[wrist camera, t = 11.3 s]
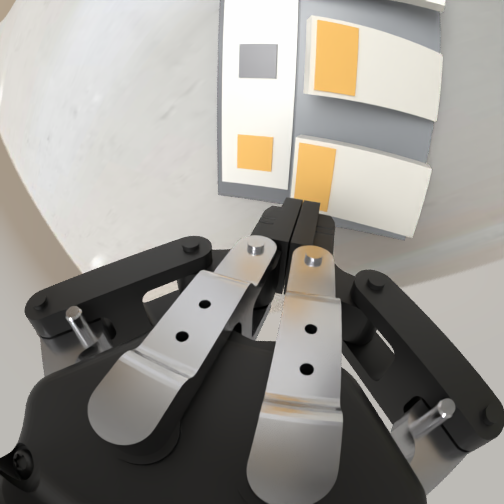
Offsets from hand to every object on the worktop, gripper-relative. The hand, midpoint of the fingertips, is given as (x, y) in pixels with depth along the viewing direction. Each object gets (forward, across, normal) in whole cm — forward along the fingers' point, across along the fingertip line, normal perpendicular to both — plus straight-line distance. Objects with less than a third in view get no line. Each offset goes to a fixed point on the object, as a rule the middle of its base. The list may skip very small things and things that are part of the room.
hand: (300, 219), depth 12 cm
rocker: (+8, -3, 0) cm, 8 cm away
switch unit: (+13, 0, -8) cm, 15 cm away
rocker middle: (+8, -3, -8) cm, 11 cm away
